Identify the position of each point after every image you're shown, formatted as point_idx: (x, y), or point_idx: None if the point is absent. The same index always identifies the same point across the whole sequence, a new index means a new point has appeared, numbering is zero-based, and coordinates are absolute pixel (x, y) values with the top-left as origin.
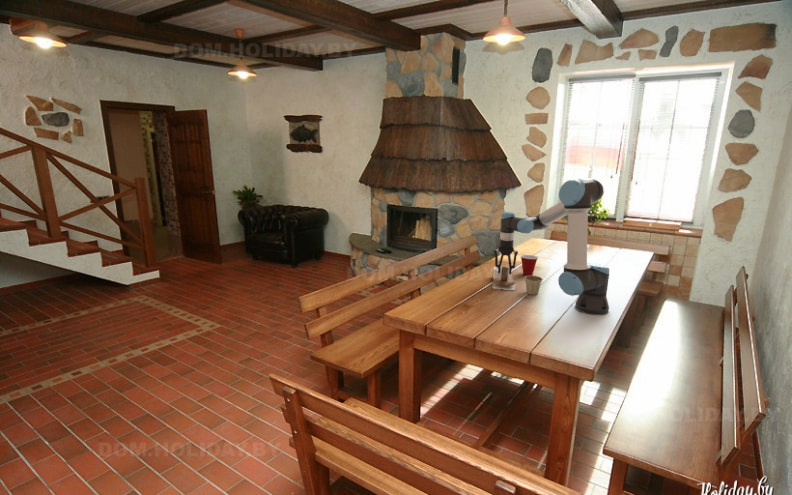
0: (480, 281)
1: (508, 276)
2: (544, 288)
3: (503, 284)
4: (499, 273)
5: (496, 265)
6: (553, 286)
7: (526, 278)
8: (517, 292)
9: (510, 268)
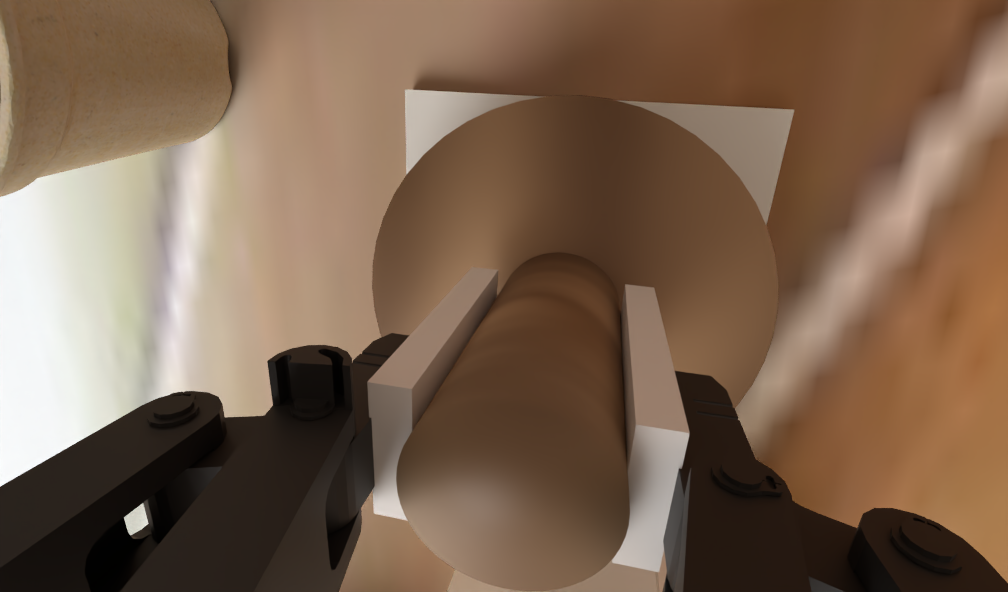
0: (950, 453)
1: (457, 294)
2: (81, 286)
3: (581, 95)
4: (634, 587)
5: (928, 558)
6: (25, 368)
7: (45, 115)
8: (357, 15)
9: (306, 363)
